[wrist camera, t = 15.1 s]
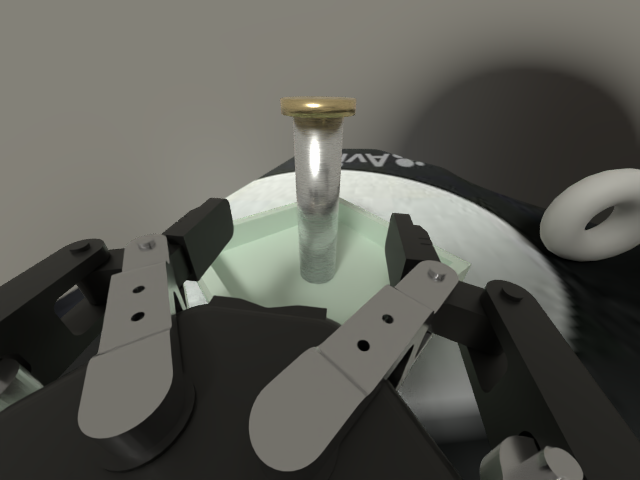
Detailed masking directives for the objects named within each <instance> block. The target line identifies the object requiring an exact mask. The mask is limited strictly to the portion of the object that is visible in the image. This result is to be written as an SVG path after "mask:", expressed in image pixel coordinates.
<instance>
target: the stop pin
mask: <svg viewBox="0 0 640 480" xmlns="http://www.w3.org/2000/svg"><path fill="white" fill-rule="evenodd" d="M280 100H281V113H282V114H283V115H287V116H293V128H294V149H295V172H296V194H297V216H298V238H299V260H300V275H301V277H302V278H303V279H304V280H305V281H307V282H309V283H313V284H322V283H326V282H328V281H330V280H331V279H332V278H333V277H334V275H335V263H336V245H337V228H338V210H339V192H340V174H341V156H342V137H343V120H344V117H348V116H353V115H355V110H356V99H354V98H346V97H323V96H321V97H319V96H317V97H316V96H311V97H310V96H309V97H308V96H306V97H305V96H303V97H284V98H281V99H280Z"/></svg>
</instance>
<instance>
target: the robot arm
mask: <svg viewBox="0 0 640 480" xmlns="http://www.w3.org/2000/svg"><path fill="white" fill-rule="evenodd" d="M233 233H234V225H233V220H232V215H231V210H230V205H229V202H228V200H227V199H220V198H210V199H208V200H207V201H206V202H205V203H203V204H202V205H201V206H200V207H198V208H196V209H193V210H191V211H189V212H188V213H187V214H186V215H185V216H184V217H182V218H181V219H179V220H178V222H176V223H175V224H173V225H172V226H171V227H170V228H168V229H167V230H166V231H165V232H163V233H162V234H149V235H144V236H141V237H138V238H136V239H134V240H132V241H130V242H129V243H128V244H127V245H126V246H125V248H123V249H113V250H108V249H107V247H106V245H105V243H104V242H103V241H102V240H100V239H86V240H81V241H77V242H74V243H72V244H69V245H67V246H65V247H63V248H62V249H60V250H58V251H57V252H55V253H54V254H52V255H50V256H49V257H47V258H46V259H44V260H42V261H41V262H39V263H37V264H36V265H34V266H33V267H31V268H29V269H28V270H26V271H25V272H23V273H21V274H20V275H18V276H17V277H15V278H13V279H12V280H10V281H8V282H7V283H5V284H4V285H2V286H0V480H463V479H462V478H461V476H460V475H459V474H458V472H457V471H456V469H455V468H454V467H453V465H452V464H451V463H450V461H449V460H448V459H447V457H446V456H445V455H444V453H443V452H442V451H441V449H440V448H439V447H438V446H437V444H436V443H435V442H434V440H433V439H432V438H431V436H430V435H429V434H428V432H427V431H426V430H425V428H424V427H423V426H422V424H421V423H420V422H419V420H418V419H417V418H416V416H415V415H414V414H413V412H412V411H411V410H410V408H409V407H408V406H407V404H406V403H405V402H404V400H403V399H402V398H401V396H400V395H399V394H398V392H397V391H398V389H399V388H400V386H401V385H402V383H403V381H404V380H405V378H406V376H407V374H408V372H409V371H410V369H411V367H412V366H413V364H414V363H415V361H416V360H417V358H418V357H419V355H420V354H421V352H422V351H423V349H424V348H425V346H426V345H427V343H428V342H429V340H430V339H431V337H432V336H433V334H437V335H439V336H442V337H445V338H447V339H450V340H452V341H455V342H457V343H458V345H459V348H460V351H461V355H462V358H463V361H464V364H465V367H466V370H467V374H468V377H469V380H470V383H471V386H472V389H473V393H474V396H475V399H476V402H477V405H478V408H479V412H480V415H481V418H482V421H483V424H484V427H485V431H486V434H487V437H488V440H489V443H490V446H491V450H492V451H491V452H489V453H488V454H487V455H486V456H485V457H484V458H483V460H482V462H481V466H480V478H481V480H640V442H639V440H638V439H637V438H636V436H635V435H634V434H633V432H632V431H631V429H630V428H629V427H628V425H627V424H626V423H625V421H624V420H623V418H622V417H621V416H620V414H619V413H618V412H617V410H616V409H615V408H614V406H613V405H612V403H611V402H610V401H609V399H608V398H607V397H606V395H605V394H604V392H603V391H602V390H601V388H600V387H599V386H598V384H597V383H596V381H595V380H594V379H593V377H592V376H591V375H590V373H589V372H588V371H587V369H586V368H585V366H584V365H583V364H582V362H581V361H580V360H579V358H578V357H577V355H576V354H575V353H574V351H573V350H572V349H571V347H570V346H569V344H568V343H567V342H566V340H565V339H564V338H563V336H562V335H561V334H560V332H559V331H558V329H557V328H556V327H555V325H554V324H553V323H552V321H551V320H550V318H549V317H548V316H547V314H546V313H545V312H544V310H543V309H542V307H541V306H540V305H539V303H538V302H537V301H536V299H535V298H534V297H533V296H532V295H531V294H530V293H529V292H528V291H526V290H525V289H523V288H522V287H520V286H518V285H516V284H513V283H511V282H507V281H503V280H493V281H490V282H488V283H487V285H486V287H485V288H484V289H483V288H480V287H477V286H474V285H470V284H467V283H464V282H462V281H459V276H458V274H457V273H456V272H455V271H454V270H453V269H452V268H451V267H449V266H448V265H446V264H444V263H441V261H440V259H439V257H438V255H437V252H436V250H435V248H434V246H433V244H432V242H431V240H430V237H429V235H428V233H427V231H425V230H424V229H423V228H422V227H421V226H419V225H413V223H412V220H411V217H410V215H409V214H399V213H392V215H391V219H390V223H389V228H388V232H387V237H386V242H385V257H386V263H387V269H388V275H389V281H390V285H389V284H387V285H385V286H384V287H383V288H382V289H381V290H380V291H378V292H377V293H376V294H375V295H374V296H373V297H372V298H371V299H370V300H369V301H368V302H367V303H365V304H364V305H363V306H362V307H361V308H360V309H359V310H358V311H357V312H356V313H355V314H353V315H352V316H351V317H350V318H349V319H348V320H347V321H346V322H345V323H344V324H343V325H341V324H340V323H338V322H336V321H334V320H332V319H329V318H327V308H319V307H310V306H302V305H294V306H283V307H271V308H267V307H263V306H261V305H258V304H255V303H252V302H250V301H247V300H244V299H241V298H233V297H225V296H216V295H214V296H213V297H212V299H211V300H210V302H209V303H208V304H204V305H198V306H195V307H191V308H189V305H188V299H187V294H186V289H185V286H184V282H185V281H186V280H189V281H199V280H200V279H201V277H202V276H203V275H204V273H205V272H206V271H207V270H208V268H209V267H210V266H211V264H212V263H213V262H214V261H215V259H216V258H217V257H218V255H219V254H220V253H221V251H222V250H223V249H224V248H225V246H226V245H227V244H228V242H229V241H230V240H231V239H232V237H233ZM74 285H77V286H78V288H79V289H80V290H81V292H82V293H83V295H84V296H85V298H84V299H83V300H81V301H80V302H79V303H78V304H77V305H76V306H75V307H73V308H72V309H71V310H70V311H69V312H68V313H67V314H65V315H64V316H63V317H62V318H61V319H60V318H59V317H58V316H57V315H56V314H55V312H54V304H55V302H56V301H57V299H58V298H59V297H60V296H62V295H63V294H64V293H65V292H67V291H68V290H69V289H71V288H72V287H73V286H74ZM101 331H102V334H101V340H100V346H99V351H98V353H97V354H96V355H95V356H93V357H92V358H91V360H90V361H89V362H87V363H85V364H84V365H82V366H80V367H78V368H76V369H75V370H73V371H71V372H69V373H67V374H66V375H64V376H62V377H60V375H61V374H62V373H63V372H64V371H65V370H66V369H67V368H68V367H69V366H70V365H71V364H72V363H73V362H74V360H75V359H76V358H77V357H78V356H79V355H80V354H81V353H82V352H83V351H84V350H85V349H86V348H87V346H88V345H89V344H90V343H91V342H92V341H93V340H94V339H95V338H96V337H97V336H98V335H99V334H100V332H101ZM59 377H60V378H59Z"/></svg>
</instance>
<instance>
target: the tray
mask: <svg viewBox="0 0 640 480" xmlns="http://www.w3.org/2000/svg"><path fill="white" fill-rule="evenodd" d="M233 225H234V233H233V237H232V239H231V240H230V241H229V242H228V244H227V245H226V246H225V248H224V249H223V250H222V251H221V253H220V254H219V255H218V257H217V258H216V259H215V261H214V262H213V263H212V264H211V266H210V267H209V268H208V270H207V271H206V272H205V273H204V275H203V276H202V277H201V279H200V280H199V281H197V283H198V285H199V287H200V289H201V290H202V292H203V294H204V296H205V298H206V300H207V302H208V303H209V302H210V300H211V299H212V297H213V296H214V295H216V296H225V297H233V298H241V299H244V300H247V301H250V302H252V303H255V304H258V305H261V306H263V307H267V308H271V307H283V306H294V305H302V306H310V307H319V308H327V318H329V319H332V320H334V321H336V322H338V323H340V324H341V325H343V324H344V323H345V322H346V321H347V320H348V319H349V318H350V317H351V316H352V315H353V314H355V313H356V312H357V311H358V310H359V309H360V308H361V307H362V306H363V305H364V304H365V303H367V302H368V301H369V300H370V299H371V298H372V297H373V296H374V295H375V294H376V293H377V292H378V291H380V290H381V289H382V288H383V287H384V286H385V285H387V284H389V285H390V281H389V275H388V269H387V263H386V257H385V242H386V237H387V232H388V228H389V222H387V221H385V220H383V219H381V218H379V217H377V216H375V215H373V214H371V213H369V212H367V211H365V210H363V209H361V208H359V207H358V206H356V205H354V204H352V203H350V202H348V201H346V200H344V199H342V198H340V197H339V210H338V228H337V245H336V263H335V275H334V277H333V278H332V279H331V280H330V281H328V282H326V283H322V284H313V283H309V282H307V281H305V280H304V279H303V278H302V277H301V275H300V260H299V238H298V216H297V202H296V203H292V204H289V205H285V206H282V207H278V208H275V209H271V210H268V211H265V212H261V213H258V214H254V215H251V216H247V217H244V218H240V219H237V220H234V221H233ZM433 246H434V245H433ZM434 248H435V250H436V252H437V255H438V257H439V259H440V261H441V263H444V264H446V265H448V266H449V267H451V268H452V269H453V270H454V271H455V272H456V273H457V274H458V276H459V281H462V282H463V280H464V278H465V276H466V274H467V272H468V270H469V268H470V265H471V264H470V263H468V262H466V261H464V260H462V259H460V258H458V257H456V256H454V255H452V254H450V253H448V252H446V251H444V250H442V249H440V248H438V247H436V246H434Z"/></svg>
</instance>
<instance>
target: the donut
mask: <svg viewBox="0 0 640 480" xmlns="http://www.w3.org/2000/svg"><path fill="white" fill-rule="evenodd" d="M614 205H615V208H614V211H613V212H612V214H611V215H610V216H609V217H608V218H607V219H606V220H605V221H604V222H602V223H601V224H599V225H598V226H596V227H594V228H592V229H589V230H585V227H586V225H587V223H588V222H589V221H590V220H591V219H592V218H593V217H594V216H595V215H596V214H598V213H599V212H601V211H602V210H604V209H606V208H608V207H611V206H614ZM540 237H541V239H542V241H543V243H544V245H545V247H546V248H547V249H548V250H549V251H551V252H552V253H554V254H556V255H557V256H559V257H561V258H564V259H569V260H574V261H579V262H580V261H596V260H601V259H605V258H609V257H613V256H616V255H619V254H621V253H623V252H626V251H628V250H630V249H632V248H634V247H635V246H637V245H638V244H640V170H637V169H631V168H628V169H618V170H608V171H604V172H601V173H598V174H595V175H592V176H589V177H586V178H584V179H582V180H581V181H579V182H577V183H575V184H573V185H572V186H570V187H568V188H567V189H566V190H565V191H564V192H562V194H560V195H559V196H558V197H557V198H555V199H554V201H553V202H552V203H551V205H550V206H549V207H548V208H547V210H546V211H545V213H544V215H543V218H542V220H541V223H540Z"/></svg>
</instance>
